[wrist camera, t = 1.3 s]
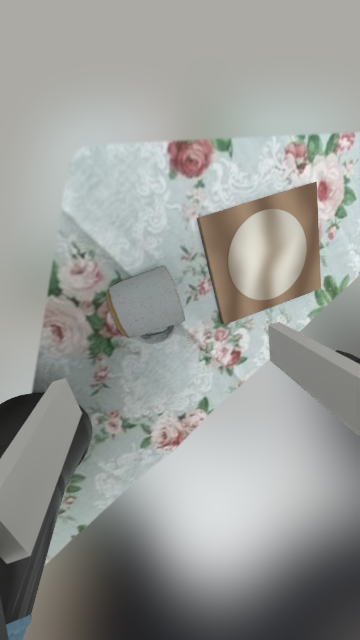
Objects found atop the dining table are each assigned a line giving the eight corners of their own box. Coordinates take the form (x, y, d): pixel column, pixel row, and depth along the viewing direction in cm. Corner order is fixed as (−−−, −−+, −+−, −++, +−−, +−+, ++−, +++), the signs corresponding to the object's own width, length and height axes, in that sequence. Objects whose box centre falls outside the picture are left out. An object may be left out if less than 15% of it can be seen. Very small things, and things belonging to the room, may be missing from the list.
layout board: (221, 322, 34) (225, 325, 33) (197, 218, 28) (199, 217, 27) (316, 287, 36) (322, 288, 35) (310, 183, 30) (318, 181, 29)
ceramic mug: (105, 283, 28) (97, 295, 21) (161, 262, 29) (172, 267, 22) (136, 347, 32) (138, 375, 25) (184, 327, 33) (200, 349, 26)
